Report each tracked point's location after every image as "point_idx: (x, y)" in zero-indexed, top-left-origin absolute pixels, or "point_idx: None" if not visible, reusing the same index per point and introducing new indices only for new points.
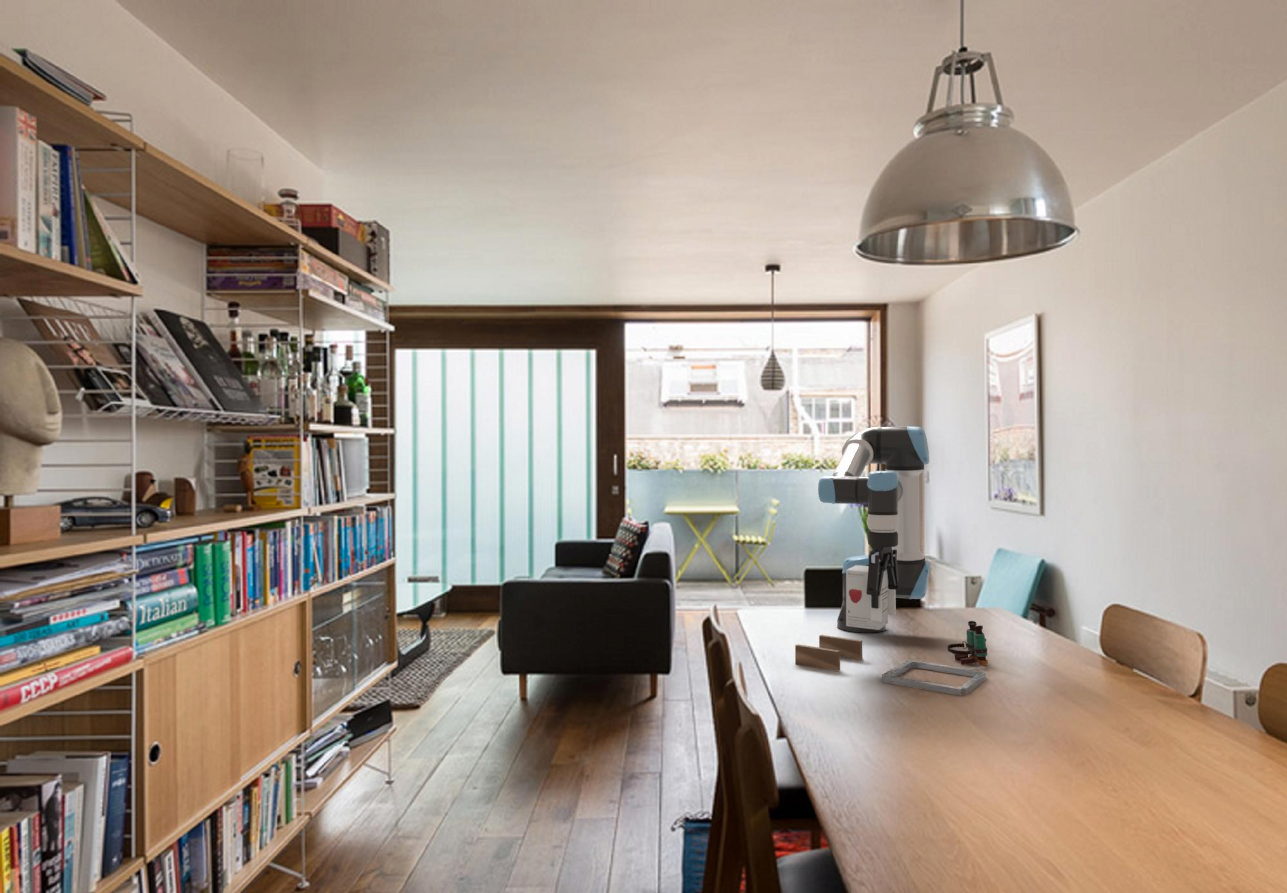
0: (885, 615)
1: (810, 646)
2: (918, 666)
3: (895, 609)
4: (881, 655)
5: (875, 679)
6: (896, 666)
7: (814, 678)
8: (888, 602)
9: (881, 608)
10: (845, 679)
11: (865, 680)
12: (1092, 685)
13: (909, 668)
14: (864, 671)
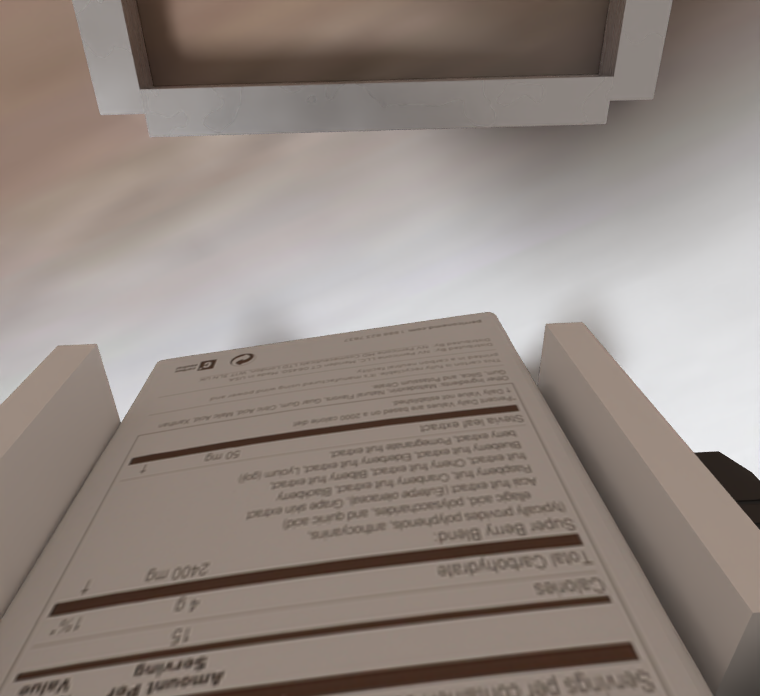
0: (256, 399)
1: None
2: (139, 37)
3: (32, 380)
4: (43, 353)
5: (581, 164)
6: (350, 128)
7: (703, 406)
8: (49, 522)
9: (630, 417)
10: (658, 293)
11: (630, 202)
12: None
13: (208, 85)
14: (443, 284)
